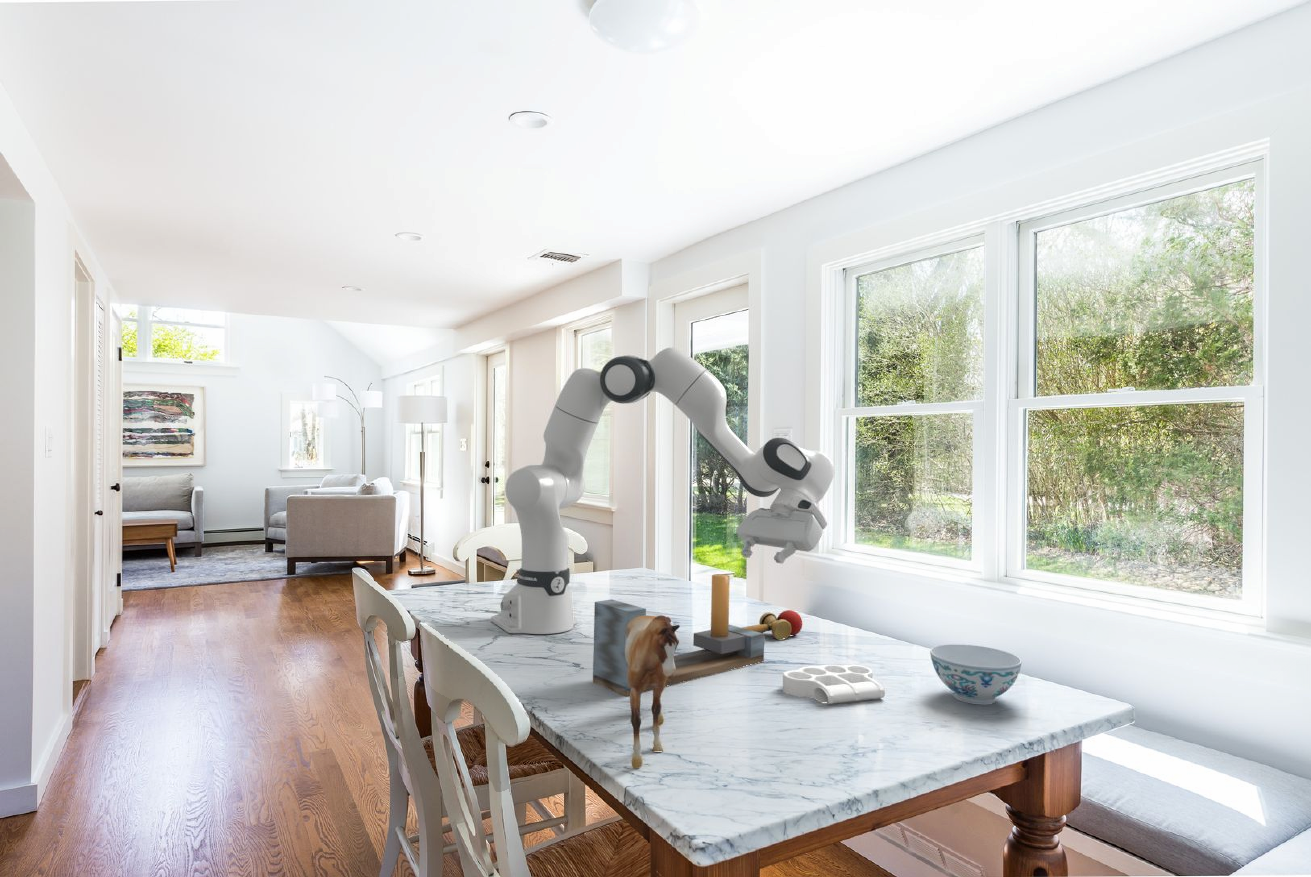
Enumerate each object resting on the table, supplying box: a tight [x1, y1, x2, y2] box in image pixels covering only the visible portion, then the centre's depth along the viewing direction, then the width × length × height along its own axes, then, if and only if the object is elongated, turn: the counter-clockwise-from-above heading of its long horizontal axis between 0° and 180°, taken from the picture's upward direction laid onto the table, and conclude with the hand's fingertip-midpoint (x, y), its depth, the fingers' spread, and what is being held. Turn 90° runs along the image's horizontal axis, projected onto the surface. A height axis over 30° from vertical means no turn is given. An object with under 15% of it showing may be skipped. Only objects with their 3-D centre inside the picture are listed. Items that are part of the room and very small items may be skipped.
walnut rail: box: [592, 599, 765, 697], centre depth 145 cm, size 11×36×15 cm, turn 131°
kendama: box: [741, 609, 803, 640], centre depth 174 cm, size 8×6×18 cm
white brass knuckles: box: [782, 664, 886, 706], centre depth 136 cm, size 3×18×15 cm
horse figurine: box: [625, 614, 681, 769], centre depth 112 cm, size 31×8×21 cm, turn 0°
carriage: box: [692, 573, 746, 654], centre depth 152 cm, size 8×7×14 cm
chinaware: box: [929, 643, 1022, 706], centre depth 133 cm, size 15×15×8 cm
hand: (760, 558), depth 160 cm, fingers open, 8 cm apart
